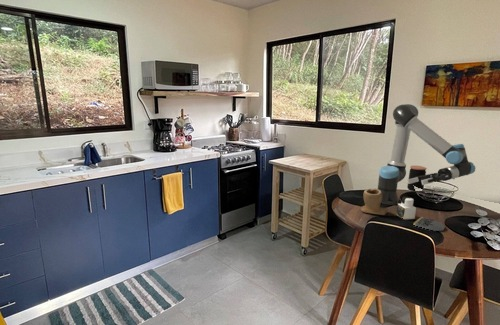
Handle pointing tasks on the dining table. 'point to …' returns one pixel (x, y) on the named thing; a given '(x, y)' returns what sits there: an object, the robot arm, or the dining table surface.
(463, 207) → the dining table surface
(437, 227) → the d plate
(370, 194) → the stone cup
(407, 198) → the medicine bottle
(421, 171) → the coffee jar
